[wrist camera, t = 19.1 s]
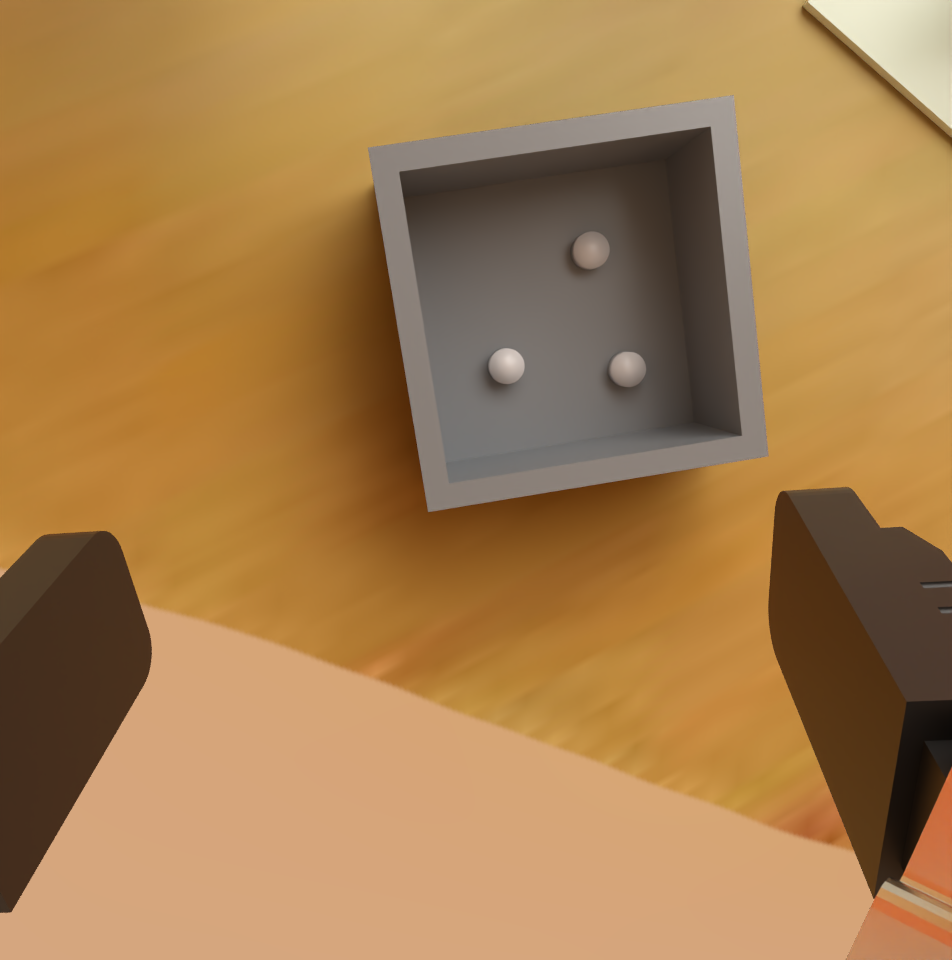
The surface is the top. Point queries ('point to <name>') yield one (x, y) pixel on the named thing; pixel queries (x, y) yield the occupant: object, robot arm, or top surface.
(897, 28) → the lid
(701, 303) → the parts box
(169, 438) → the top surface
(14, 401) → the top surface
